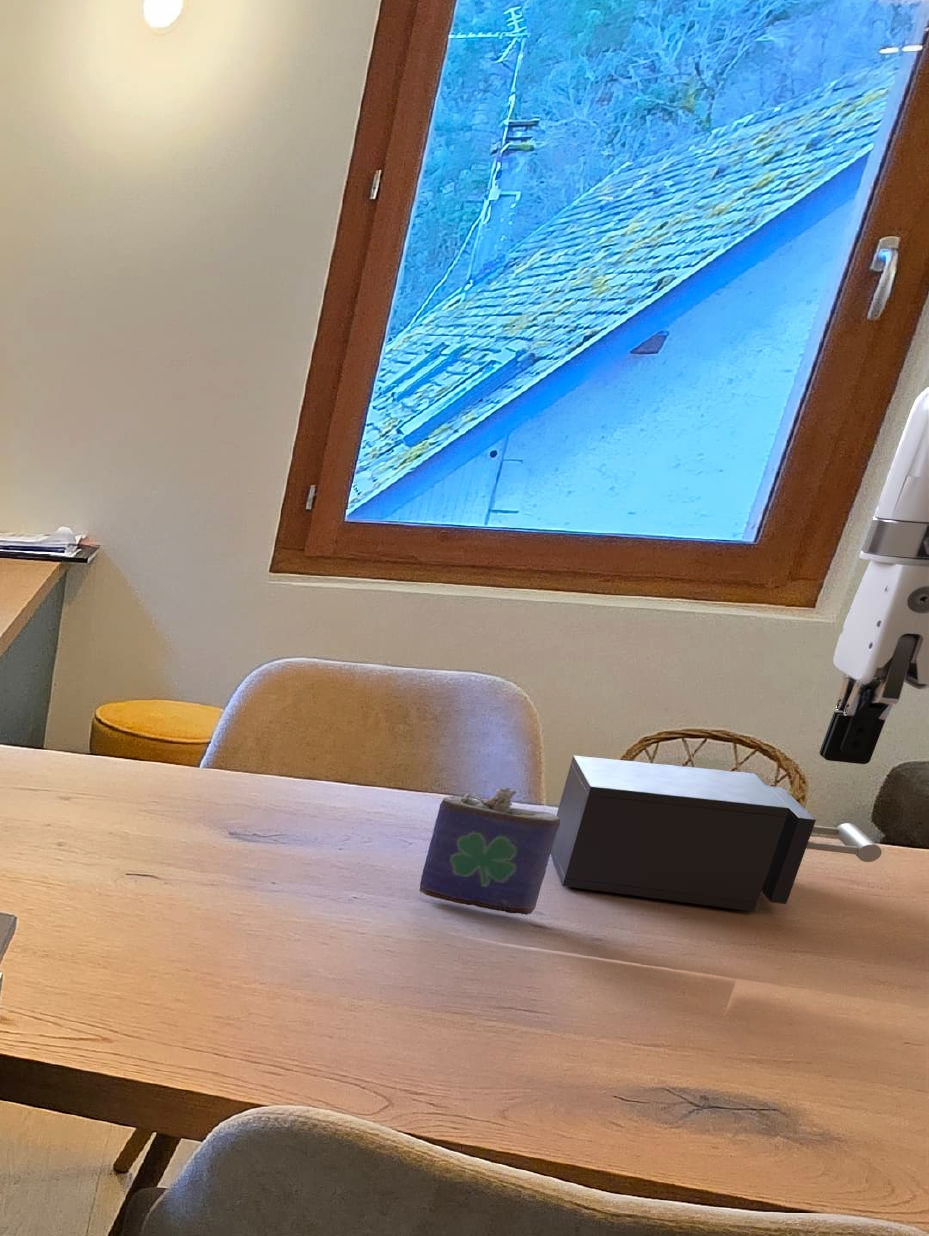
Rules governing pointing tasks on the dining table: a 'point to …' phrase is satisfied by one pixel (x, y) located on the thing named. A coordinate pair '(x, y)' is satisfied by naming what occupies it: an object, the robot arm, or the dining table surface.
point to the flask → (489, 853)
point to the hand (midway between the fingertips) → (843, 759)
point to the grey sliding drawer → (808, 847)
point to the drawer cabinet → (667, 832)
